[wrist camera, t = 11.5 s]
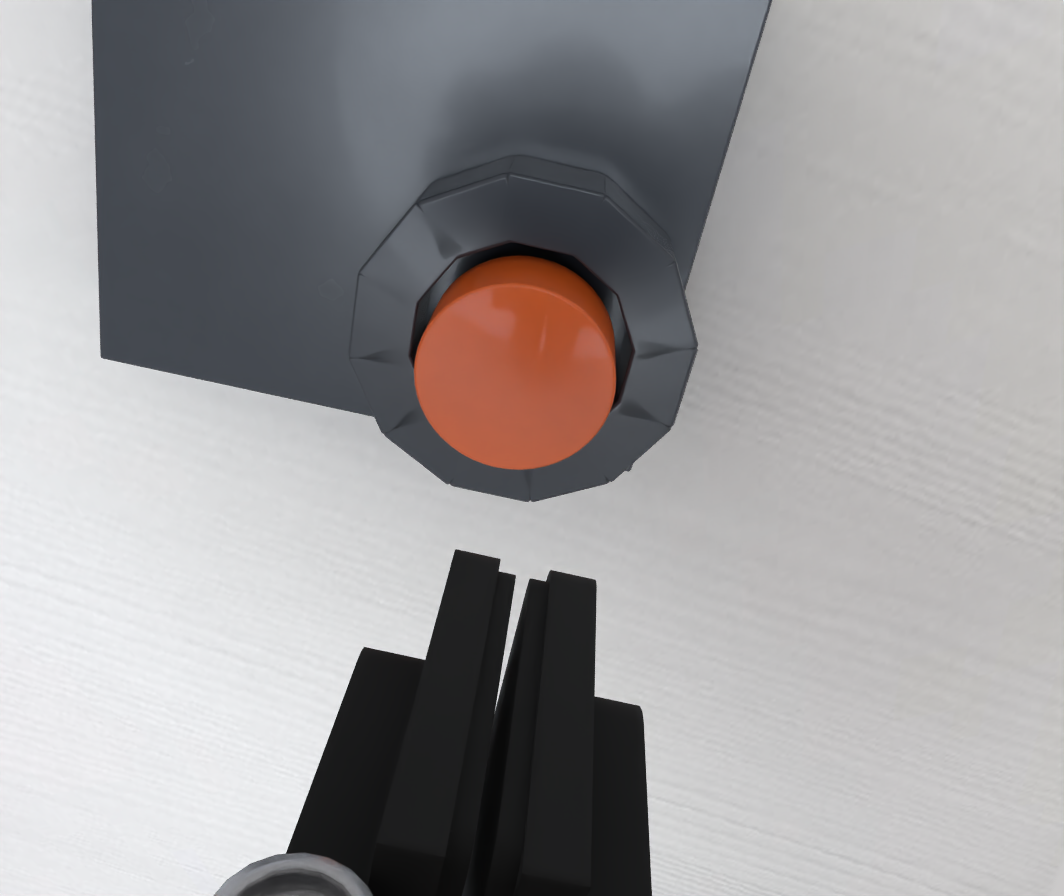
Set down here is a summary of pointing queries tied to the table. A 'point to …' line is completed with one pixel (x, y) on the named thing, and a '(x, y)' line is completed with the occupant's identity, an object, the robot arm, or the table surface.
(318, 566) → the table surface
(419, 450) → the button box
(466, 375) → the button
